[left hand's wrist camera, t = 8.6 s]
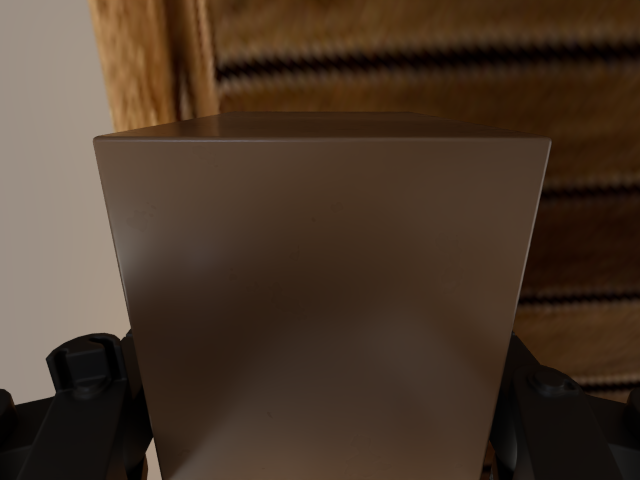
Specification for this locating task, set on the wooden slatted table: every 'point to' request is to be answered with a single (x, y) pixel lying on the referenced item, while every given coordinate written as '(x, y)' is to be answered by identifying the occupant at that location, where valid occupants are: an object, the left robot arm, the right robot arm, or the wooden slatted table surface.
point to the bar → (321, 288)
